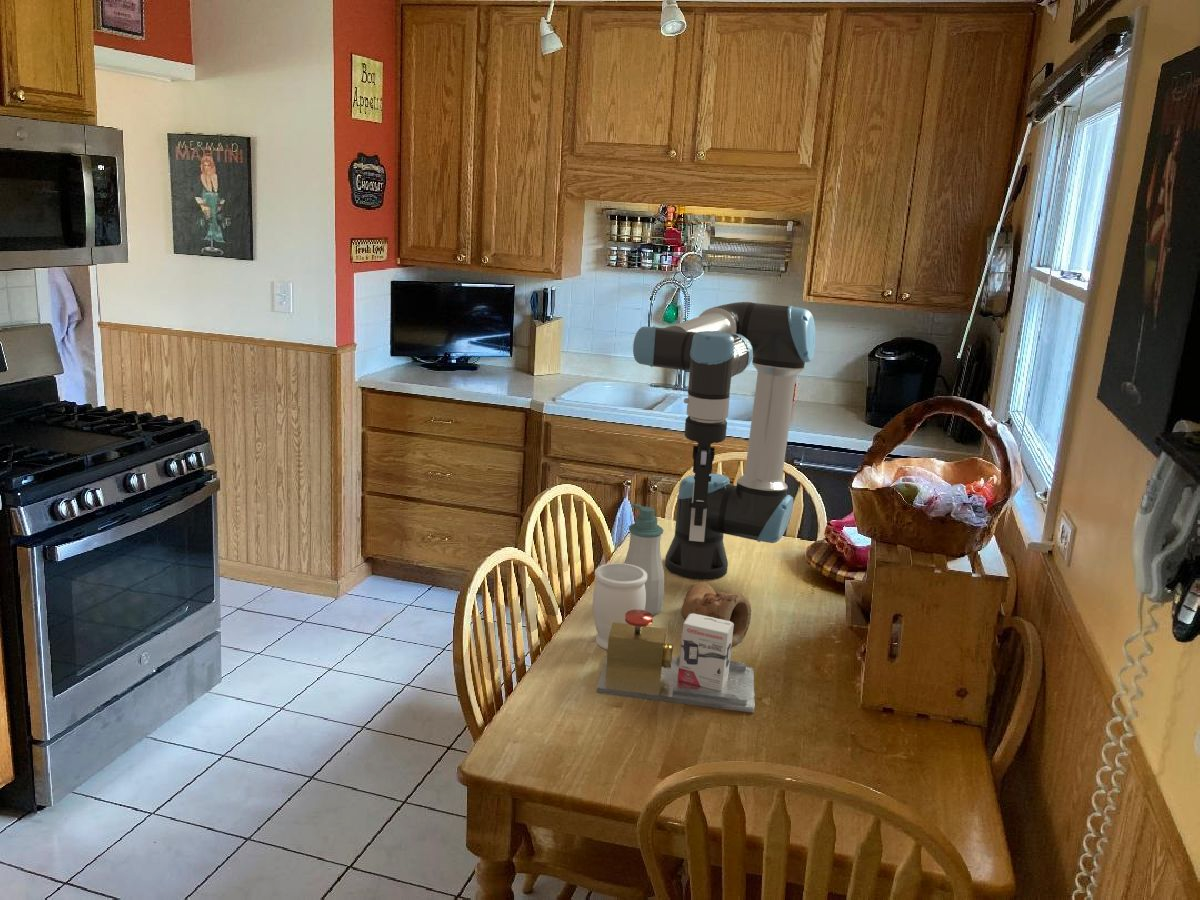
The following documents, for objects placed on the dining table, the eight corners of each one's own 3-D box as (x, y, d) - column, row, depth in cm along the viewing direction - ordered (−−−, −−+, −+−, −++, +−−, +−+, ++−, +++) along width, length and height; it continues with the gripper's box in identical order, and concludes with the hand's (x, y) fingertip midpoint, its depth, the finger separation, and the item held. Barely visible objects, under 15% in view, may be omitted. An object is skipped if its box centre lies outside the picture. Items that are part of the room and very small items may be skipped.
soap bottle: (638, 595, 211) (646, 498, 205) (671, 610, 204) (680, 511, 198) (607, 607, 204) (614, 507, 198) (640, 622, 198) (649, 520, 192)
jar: (607, 625, 195) (612, 558, 191) (651, 640, 190) (657, 570, 186) (580, 644, 186) (584, 574, 182) (625, 659, 181) (631, 587, 177)
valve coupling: (607, 654, 183) (611, 595, 180) (752, 672, 180) (759, 612, 177) (596, 692, 169) (600, 629, 166) (754, 712, 165) (761, 648, 162)
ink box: (676, 681, 172) (682, 622, 169) (684, 669, 177) (689, 611, 174) (721, 692, 170) (728, 632, 167) (728, 680, 174) (734, 621, 171)
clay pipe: (679, 662, 190) (752, 653, 185) (667, 613, 188) (741, 603, 183) (693, 621, 207) (760, 612, 203) (682, 576, 205) (750, 566, 201)
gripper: (687, 400, 183) (679, 502, 189) (683, 434, 159) (674, 550, 165) (726, 403, 182) (717, 506, 188) (728, 437, 158) (717, 554, 165)
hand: (697, 527), depth 177 cm, fingers open, 13 cm apart
